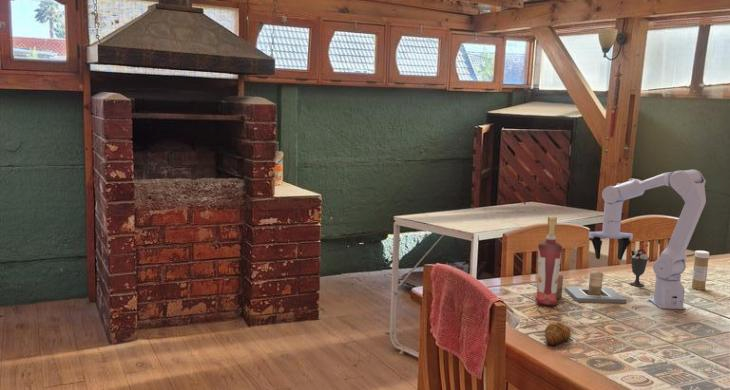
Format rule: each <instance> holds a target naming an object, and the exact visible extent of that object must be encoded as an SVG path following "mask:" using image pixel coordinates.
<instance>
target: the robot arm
mask: <svg viewBox="0 0 730 390" xmlns="http://www.w3.org/2000/svg"><path fill="white" fill-rule="evenodd" d="M706 182H707V180H706V179H705V178H704V176H703V174H702V173H701V171H699V170H697V169H687V170H680V169H679V170H675V171H670V172H669V171H668V172H663V173H661V174H658V175H655V176H653V177H650V178H647V179H644V180H641V179H638V178H634V177H633V178H629V179H628V181H625V182H622V183H621V182H616V185H608V186H607V187H605V188H603V190H602V193H601V197H602V199H603V201H604V205H603V206H604V207H603V221H602V229H601V231H600V230H599V231H588V238H590V241H591V243H592V246H593V250H594V253H595V259H597V260H600V259H601V252H602V251H601V250H602V245H603V240H602V239H616V240H617V245H618V247H617V255H616V257H617V260H619V261H622V259H623V256H624V254H625V252H626V250H627V249H628V247H629V245H630V244H631V241H632V240H633V237H634V236H633V235H634V234H633V233H632V232H631V233H630V232H622V231H621V224H622V223H621V222H622V212H623V205H624V202H625V201H626V200H629V199H633V198H637V197H641V196H643V195H644V193H645V191H647V190H650V189H654V188H658V187H662V186H667V187H671V188H672V189H673V190H675V192H676V193H677V194H679V196H680V197H681V198H682V199H683V201H684V204H683V207H682V210H681V213H680V215H679V216H678V219H677V221H676V225H675V226H674V229H673V232H672V235H671V237H670V239H669V240H668V241H669V242H668V244H667V246H666V248H665V249H664V250H663V251H662V252H660V255H659V257H658V258H657V259H656V260H655V261H654V262H653V264H652V270H653V273H654V274H655V283H654V290H653V291H654V292H653V297H652V298H651V297H649V298H648V301H650V302H651V303H653V304H654V305H655V306H657V307H658V308H660V309H671V310H672V309H673V310H686V307H685V306H684V300H685V292H686V291H685V287H684V285H683V284H682V282H681V279H682V278H681V277H682V274H683V273H685V272H684V271H685V270H686V267H687V265H686V260H687V257H688V256H687V254H686V250H687V248H688V246H689V243H690V241H691V238H692V237H693V234H694V232H695V230H696V227H697V224H698V223H699V219H700V218H701V214H702V212H703V210H704V208H705V206H706V202H707V196H706V189H705V185H706Z"/></svg>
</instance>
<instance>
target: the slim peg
mask: <svg viewBox="0 0 730 390" xmlns="http://www.w3.org/2000/svg"><path fill="white" fill-rule="evenodd" d="M603 278H604V273H603V272H601V271H590V272H589V282H588V287H589V290H588V293H587V295H590V296H602V294H601V288H603Z"/></svg>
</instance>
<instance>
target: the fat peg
mask: <svg viewBox="0 0 730 390" xmlns="http://www.w3.org/2000/svg"><path fill="white" fill-rule="evenodd" d="M563 282H564V275H563V274H561V273H559V277H558V285H557V295H556V299H560V298H562V295H563V284H564V283H563Z"/></svg>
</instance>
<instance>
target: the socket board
mask: <svg viewBox="0 0 730 390" xmlns="http://www.w3.org/2000/svg"><path fill="white" fill-rule="evenodd" d="M588 290H589V286H588V287H584V286H564V291H565V293H567V294H568V295H569V296H570V297H571V298H572V299H573V300H574V301H576V302H577V303H607V304H610V303H611V304H612V303H613V304H626V303H627V299H626V298H625V297H624V296H622V295H621V294H619V292H618V291H616V290H615V289H613V288H611V287H602V288H601V296H590V295H588Z"/></svg>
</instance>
